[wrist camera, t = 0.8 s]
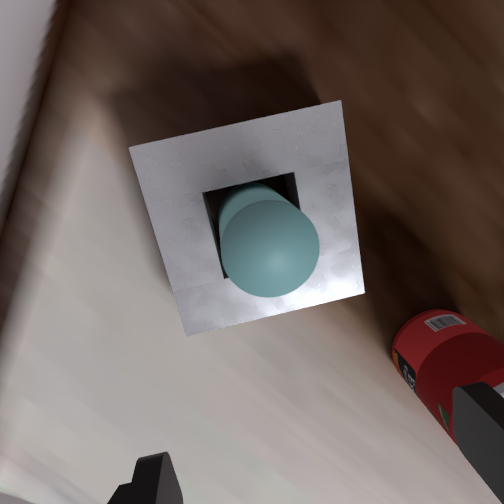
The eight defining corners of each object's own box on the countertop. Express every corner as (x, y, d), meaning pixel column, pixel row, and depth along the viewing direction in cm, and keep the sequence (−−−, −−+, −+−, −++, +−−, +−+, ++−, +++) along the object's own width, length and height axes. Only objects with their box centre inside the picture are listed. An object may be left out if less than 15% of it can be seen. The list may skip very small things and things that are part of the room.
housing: (322, 106, 27) (340, 100, 23) (346, 274, 31) (364, 293, 27) (140, 146, 26) (128, 147, 23) (189, 312, 31) (186, 336, 27)
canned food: (372, 353, 34) (443, 446, 23) (431, 290, 33) (534, 359, 22) (425, 390, 36) (512, 492, 25) (482, 332, 35) (599, 414, 24)
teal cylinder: (278, 175, 28) (311, 191, 19) (290, 239, 30) (326, 285, 20) (211, 190, 28) (210, 215, 18) (227, 254, 30) (233, 307, 20)
